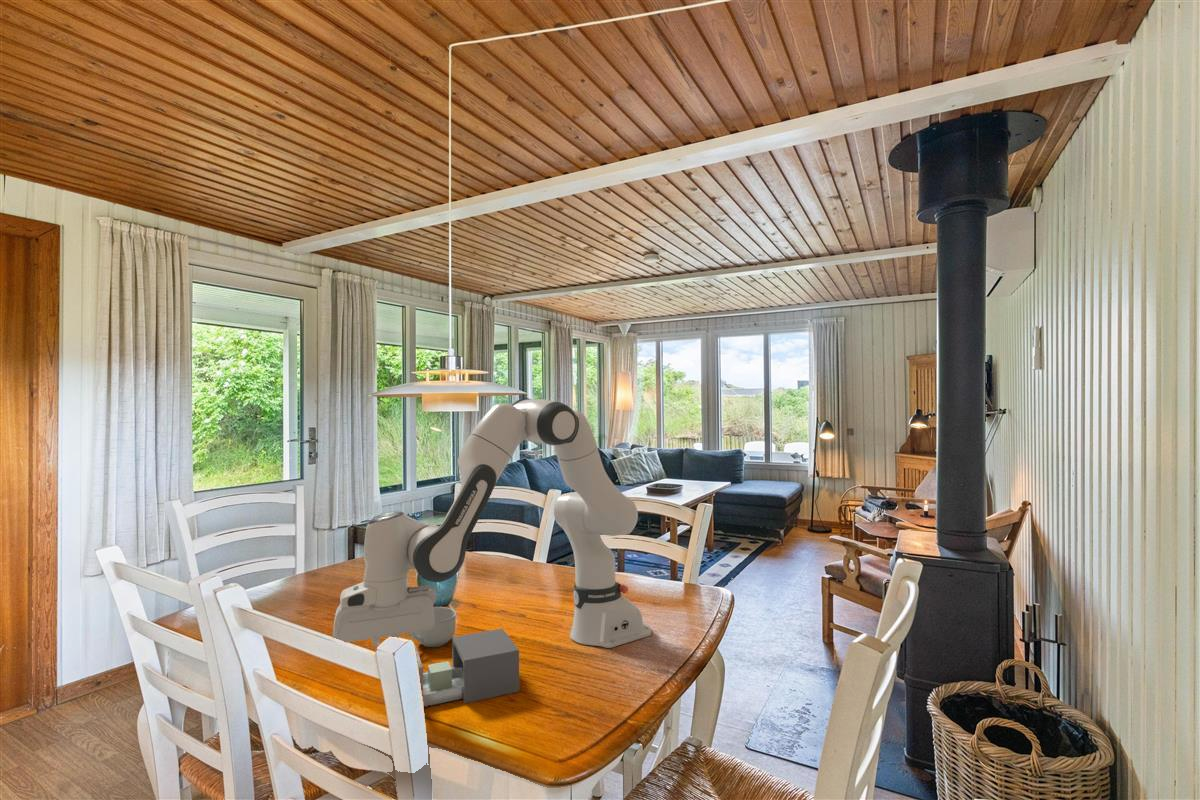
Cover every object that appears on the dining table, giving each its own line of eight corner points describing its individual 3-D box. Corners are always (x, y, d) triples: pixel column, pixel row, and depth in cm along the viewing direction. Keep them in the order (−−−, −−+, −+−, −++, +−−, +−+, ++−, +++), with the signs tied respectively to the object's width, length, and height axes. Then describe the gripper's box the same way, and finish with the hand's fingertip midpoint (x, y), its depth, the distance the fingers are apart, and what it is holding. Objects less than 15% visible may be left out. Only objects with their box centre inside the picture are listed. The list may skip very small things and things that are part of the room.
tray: (463, 673, 132) (463, 637, 132) (474, 697, 121) (474, 657, 121) (410, 684, 127) (410, 646, 127) (417, 710, 116) (416, 668, 116)
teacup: (441, 631, 159) (440, 603, 159) (464, 641, 152) (464, 611, 152) (395, 648, 148) (395, 617, 148) (419, 659, 141) (419, 626, 141)
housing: (502, 665, 137) (502, 628, 137) (519, 691, 124) (519, 650, 124) (452, 675, 132) (452, 636, 132) (464, 703, 119) (464, 660, 119)
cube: (427, 685, 125) (427, 664, 125) (448, 681, 127) (448, 661, 127) (430, 694, 121) (430, 673, 121) (452, 690, 123) (452, 669, 123)
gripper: (434, 580, 127) (433, 642, 126) (333, 592, 118) (332, 659, 118) (438, 587, 121) (437, 653, 120) (333, 600, 112) (332, 671, 112)
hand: (385, 656), depth 119 cm, fingers closed
